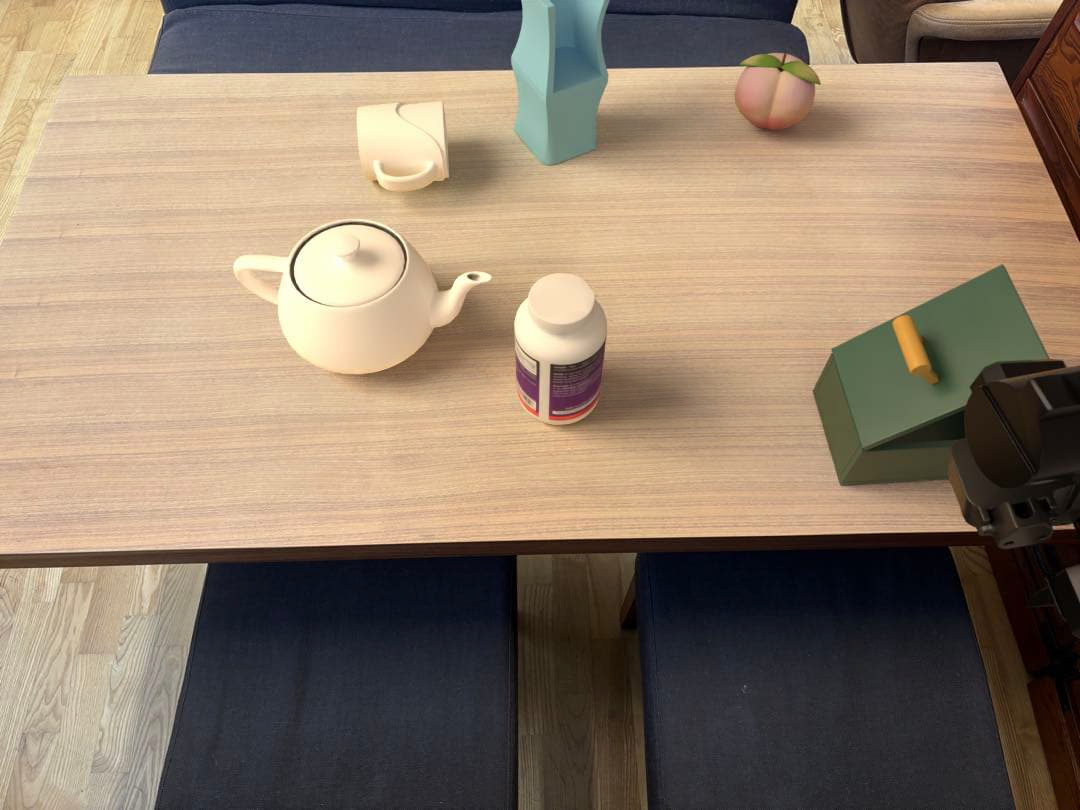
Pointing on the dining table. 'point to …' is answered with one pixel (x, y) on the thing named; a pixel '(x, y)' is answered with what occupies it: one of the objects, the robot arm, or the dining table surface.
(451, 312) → the teapot
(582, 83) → the vase
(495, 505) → the dining table surface
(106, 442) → the dining table surface
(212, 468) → the dining table surface
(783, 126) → the decorative fruit
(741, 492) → the dining table surface
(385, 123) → the mug
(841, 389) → the tea tin
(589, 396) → the pill bottle
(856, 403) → the tin lid
